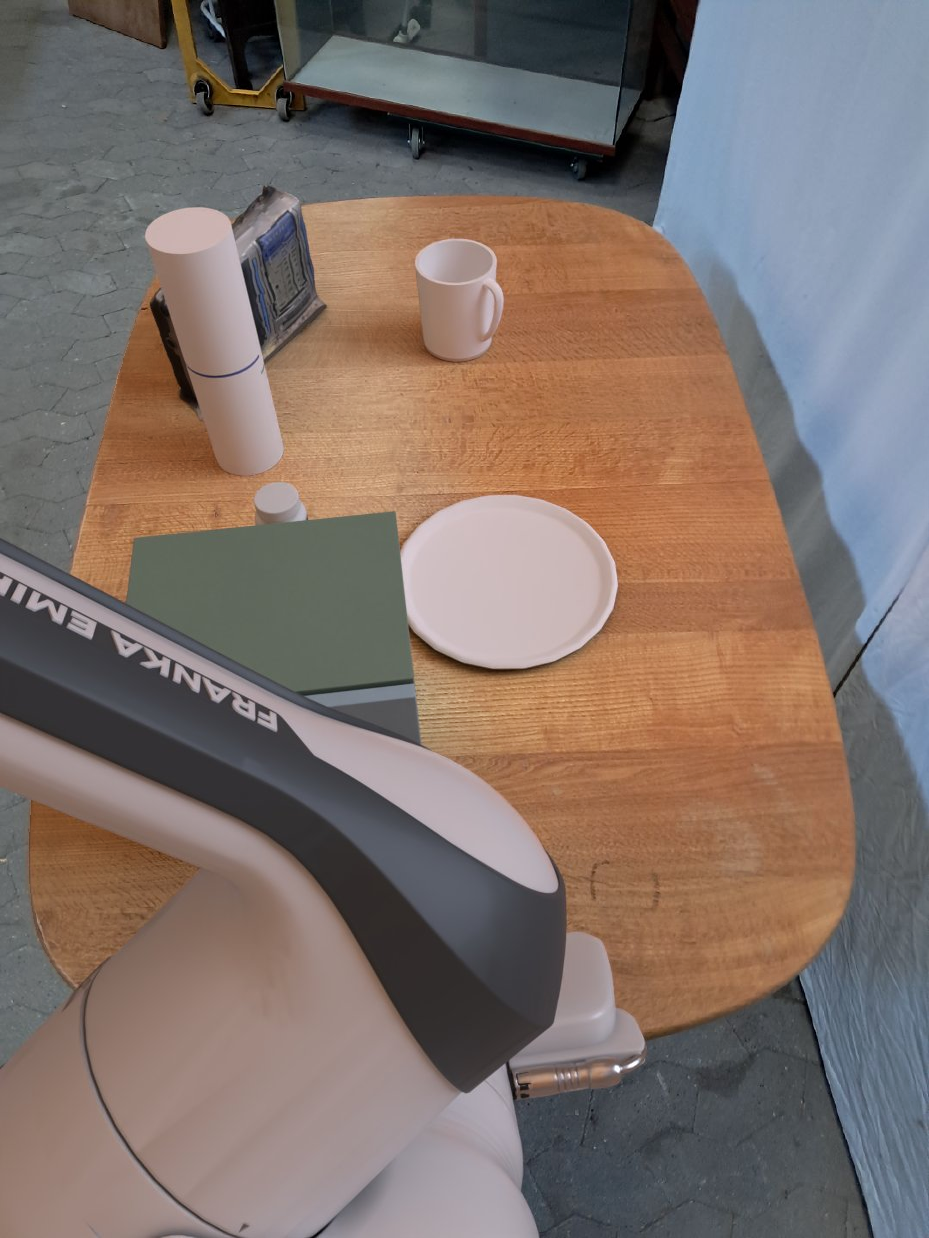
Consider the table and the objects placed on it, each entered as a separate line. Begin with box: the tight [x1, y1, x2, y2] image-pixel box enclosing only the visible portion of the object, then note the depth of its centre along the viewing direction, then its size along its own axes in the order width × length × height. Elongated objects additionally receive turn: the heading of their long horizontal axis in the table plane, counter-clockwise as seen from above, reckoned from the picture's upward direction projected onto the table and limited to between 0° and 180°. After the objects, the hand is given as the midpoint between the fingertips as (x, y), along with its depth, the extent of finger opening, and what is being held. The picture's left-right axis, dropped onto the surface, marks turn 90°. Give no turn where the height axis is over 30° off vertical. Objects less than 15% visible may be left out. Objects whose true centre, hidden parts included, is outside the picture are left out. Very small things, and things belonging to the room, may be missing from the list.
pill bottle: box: [253, 481, 309, 525], centre depth 84 cm, size 5×5×8 cm
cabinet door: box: [305, 684, 422, 745], centre depth 60 cm, size 6×18×20 cm, turn 97°
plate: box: [400, 494, 619, 671], centre depth 84 cm, size 21×21×1 cm
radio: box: [149, 185, 328, 422], centre depth 100 cm, size 23×9×15 cm, turn 143°
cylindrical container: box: [144, 206, 285, 477], centre depth 86 cm, size 7×7×25 cm
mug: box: [414, 238, 505, 363], centre depth 102 cm, size 11×9×10 cm
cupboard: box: [125, 510, 422, 739], centre depth 67 cm, size 14×18×20 cm
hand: (399, 938), depth 49 cm, fingers open, 8 cm apart
